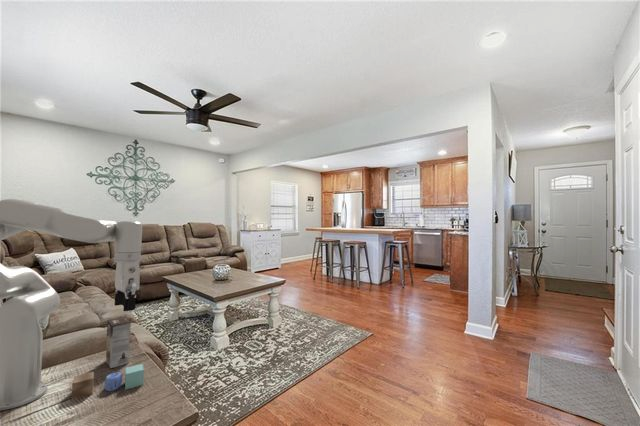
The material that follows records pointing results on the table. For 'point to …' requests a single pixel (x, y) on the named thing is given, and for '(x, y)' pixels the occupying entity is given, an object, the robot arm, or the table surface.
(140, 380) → the teal block
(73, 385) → the walnut block
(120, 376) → the decorative dice
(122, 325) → the coffee box
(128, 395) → the table surface
